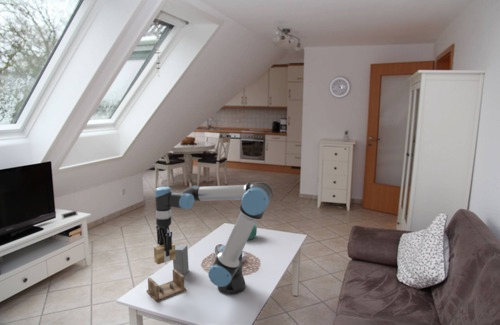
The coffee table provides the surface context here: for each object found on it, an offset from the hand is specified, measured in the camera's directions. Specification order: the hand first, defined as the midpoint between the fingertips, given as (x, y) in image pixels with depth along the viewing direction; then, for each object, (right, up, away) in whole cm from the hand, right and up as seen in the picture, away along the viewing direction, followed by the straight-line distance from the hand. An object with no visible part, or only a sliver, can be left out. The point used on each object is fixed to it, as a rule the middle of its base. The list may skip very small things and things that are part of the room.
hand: (164, 259), depth 177 cm
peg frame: (0, -18, +3) cm, 18 cm away
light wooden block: (0, 0, 0) cm, 0 cm away
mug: (+42, -6, +73) cm, 84 cm away
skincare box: (+4, -14, +23) cm, 27 cm away
